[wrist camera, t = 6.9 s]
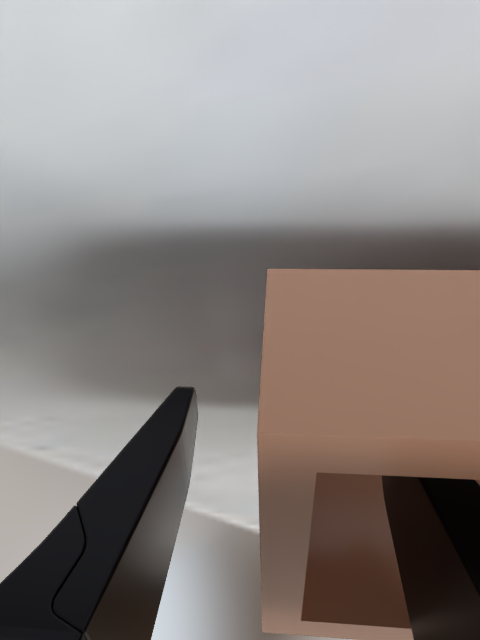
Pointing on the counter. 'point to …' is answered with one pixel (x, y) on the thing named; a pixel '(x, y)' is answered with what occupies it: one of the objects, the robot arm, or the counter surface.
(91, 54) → the counter surface
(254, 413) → the counter surface
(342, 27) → the counter surface
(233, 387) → the counter surface
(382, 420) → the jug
